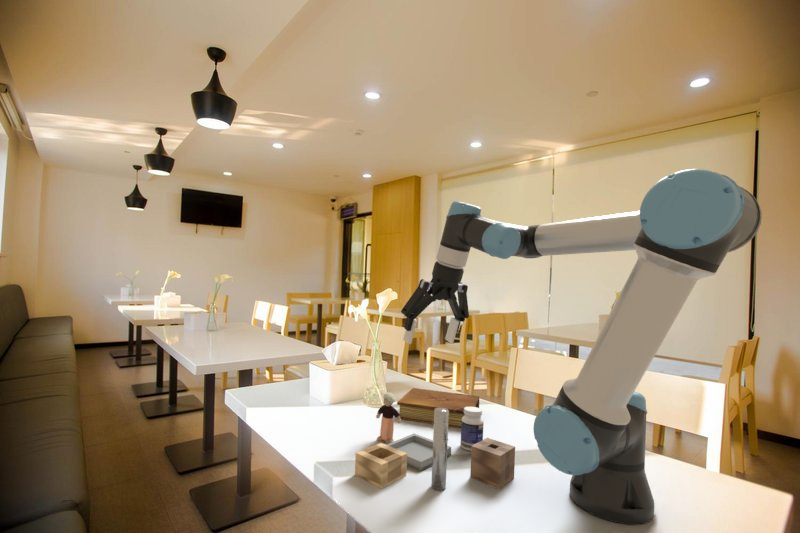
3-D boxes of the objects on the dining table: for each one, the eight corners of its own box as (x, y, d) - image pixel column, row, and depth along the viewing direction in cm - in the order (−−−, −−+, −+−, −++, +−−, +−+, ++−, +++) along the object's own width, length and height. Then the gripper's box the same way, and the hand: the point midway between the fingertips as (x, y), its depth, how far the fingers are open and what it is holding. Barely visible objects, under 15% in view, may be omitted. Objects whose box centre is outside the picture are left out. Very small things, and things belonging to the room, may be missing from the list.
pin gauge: (448, 487, 86) (451, 410, 87) (440, 492, 84) (443, 413, 84) (436, 482, 88) (439, 406, 89) (428, 486, 86) (431, 409, 86)
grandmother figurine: (370, 440, 109) (373, 392, 109) (376, 435, 113) (378, 389, 113) (398, 445, 106) (400, 396, 107) (403, 440, 110) (405, 392, 110)
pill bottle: (482, 453, 104) (483, 413, 104) (459, 450, 105) (461, 411, 105) (482, 444, 110) (483, 406, 110) (461, 441, 111) (462, 404, 111)
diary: (478, 412, 138) (479, 395, 138) (470, 432, 120) (471, 412, 120) (413, 403, 145) (413, 386, 145) (396, 419, 127) (397, 401, 127)
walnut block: (514, 478, 92) (515, 446, 92) (499, 489, 86) (500, 456, 86) (486, 467, 96) (487, 437, 96) (470, 478, 91) (471, 446, 91)
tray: (451, 455, 102) (451, 447, 102) (421, 470, 93) (421, 461, 93) (413, 441, 110) (413, 433, 110) (382, 454, 101) (383, 446, 101)
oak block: (406, 476, 91) (407, 453, 91) (381, 489, 85) (382, 464, 85) (380, 464, 96) (381, 442, 96) (354, 475, 90) (355, 452, 90)
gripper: (477, 264, 112) (456, 334, 117) (400, 254, 99) (380, 335, 103) (496, 272, 106) (473, 347, 111) (417, 264, 93) (395, 349, 97)
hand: (428, 341), depth 107 cm, fingers open, 13 cm apart
